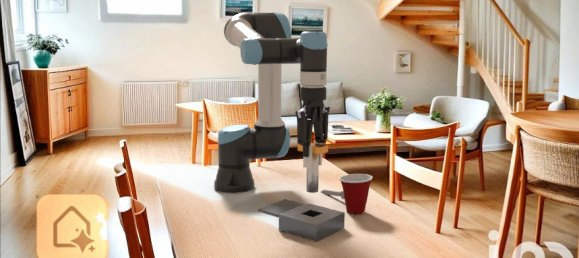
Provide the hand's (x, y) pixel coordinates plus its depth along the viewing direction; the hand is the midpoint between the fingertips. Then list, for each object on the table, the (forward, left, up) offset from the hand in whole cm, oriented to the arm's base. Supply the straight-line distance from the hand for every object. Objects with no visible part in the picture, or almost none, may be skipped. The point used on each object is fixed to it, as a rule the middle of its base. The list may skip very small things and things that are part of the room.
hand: (312, 165), depth 161 cm
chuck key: (0, 0, -8) cm, 8 cm away
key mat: (-16, +9, -20) cm, 27 cm away
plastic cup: (+1, +22, -20) cm, 30 cm away
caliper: (-11, +29, -20) cm, 37 cm away
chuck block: (0, 0, -20) cm, 20 cm away
